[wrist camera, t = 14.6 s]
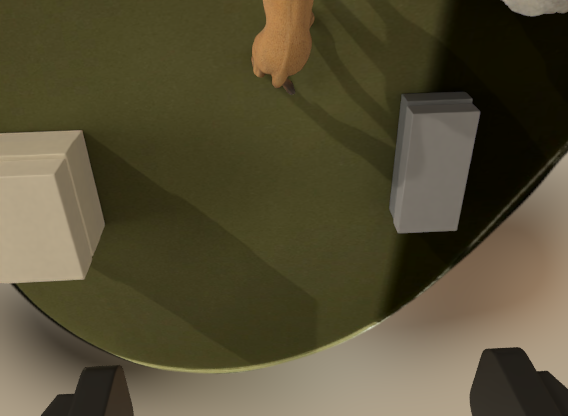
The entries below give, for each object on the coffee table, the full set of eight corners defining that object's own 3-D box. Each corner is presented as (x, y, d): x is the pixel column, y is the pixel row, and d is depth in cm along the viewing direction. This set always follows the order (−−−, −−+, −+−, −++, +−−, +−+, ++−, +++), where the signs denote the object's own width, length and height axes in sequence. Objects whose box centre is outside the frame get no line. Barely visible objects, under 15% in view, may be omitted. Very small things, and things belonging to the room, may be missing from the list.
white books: (-8, 129, 35) (-37, 157, 32) (84, 125, 36) (65, 153, 32) (26, 228, 40) (4, 264, 36) (108, 224, 40) (94, 259, 36)
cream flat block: (-34, 161, 32) (-51, 179, 30) (65, 157, 32) (54, 174, 30) (5, 264, 36) (-8, 284, 34) (92, 259, 36) (84, 279, 35)
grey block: (401, 93, 36) (413, 109, 33) (465, 91, 36) (481, 106, 34) (388, 212, 41) (398, 233, 39) (444, 209, 41) (457, 230, 39)
